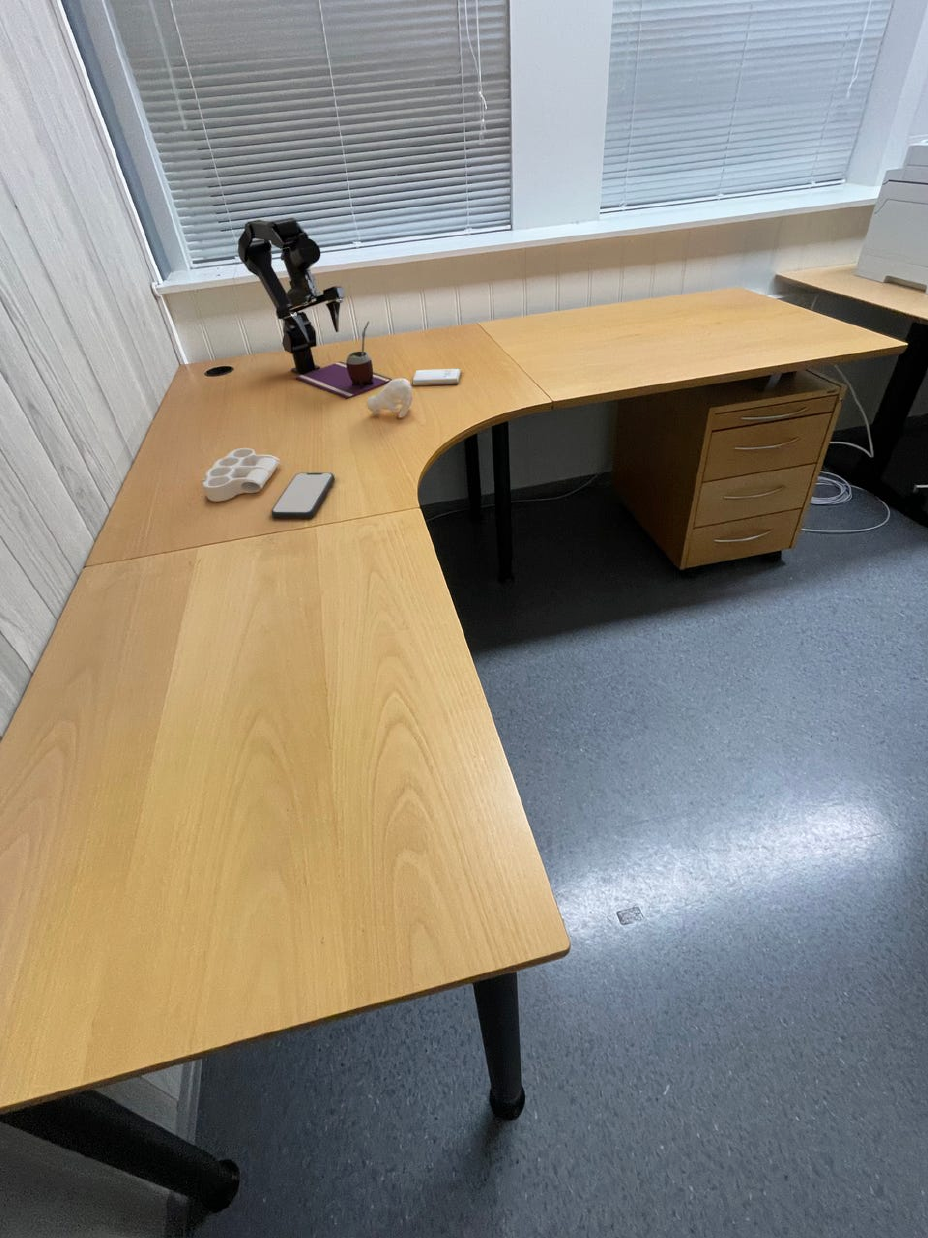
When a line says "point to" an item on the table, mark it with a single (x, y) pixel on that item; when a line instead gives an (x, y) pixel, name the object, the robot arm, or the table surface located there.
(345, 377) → the towel
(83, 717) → the table surface
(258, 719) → the table surface
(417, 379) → the hard drive
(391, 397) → the white animal figurine
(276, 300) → the robot arm
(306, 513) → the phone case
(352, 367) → the mate gourd
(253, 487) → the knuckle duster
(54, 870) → the table surface
